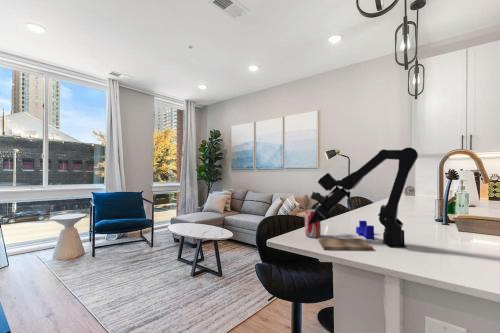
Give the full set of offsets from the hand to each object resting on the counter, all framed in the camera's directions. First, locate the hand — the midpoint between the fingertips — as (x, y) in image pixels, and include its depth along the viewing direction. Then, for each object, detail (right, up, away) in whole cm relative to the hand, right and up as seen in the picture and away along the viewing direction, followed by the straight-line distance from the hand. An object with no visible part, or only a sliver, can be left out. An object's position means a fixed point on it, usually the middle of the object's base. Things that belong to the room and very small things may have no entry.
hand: (309, 221), depth 114 cm
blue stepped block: (+25, -7, -2) cm, 26 cm away
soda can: (+1, -7, -1) cm, 7 cm away
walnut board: (+10, -6, -15) cm, 19 cm away
